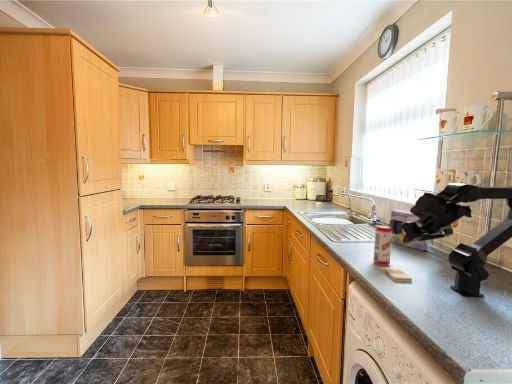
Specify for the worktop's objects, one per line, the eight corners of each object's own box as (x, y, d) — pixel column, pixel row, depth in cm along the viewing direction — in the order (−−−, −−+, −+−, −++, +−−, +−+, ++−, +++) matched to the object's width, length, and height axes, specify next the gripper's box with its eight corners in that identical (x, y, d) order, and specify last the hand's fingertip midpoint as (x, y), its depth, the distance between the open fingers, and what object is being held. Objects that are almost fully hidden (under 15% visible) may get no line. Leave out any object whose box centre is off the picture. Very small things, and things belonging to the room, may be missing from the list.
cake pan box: (387, 240, 144) (389, 209, 142) (394, 239, 146) (396, 208, 144) (421, 251, 127) (424, 215, 125) (428, 250, 129) (431, 215, 127)
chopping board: (411, 281, 94) (412, 278, 94) (394, 281, 94) (395, 278, 94) (397, 270, 104) (397, 267, 104) (381, 270, 104) (382, 267, 104)
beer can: (370, 261, 113) (372, 225, 111) (381, 260, 115) (383, 224, 113) (381, 267, 107) (384, 228, 105) (393, 265, 109) (396, 227, 107)
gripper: (448, 197, 93) (417, 221, 105) (408, 198, 87) (380, 223, 99) (469, 224, 87) (434, 246, 98) (428, 227, 81) (396, 250, 92)
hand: (411, 240), depth 97 cm, fingers open, 7 cm apart
